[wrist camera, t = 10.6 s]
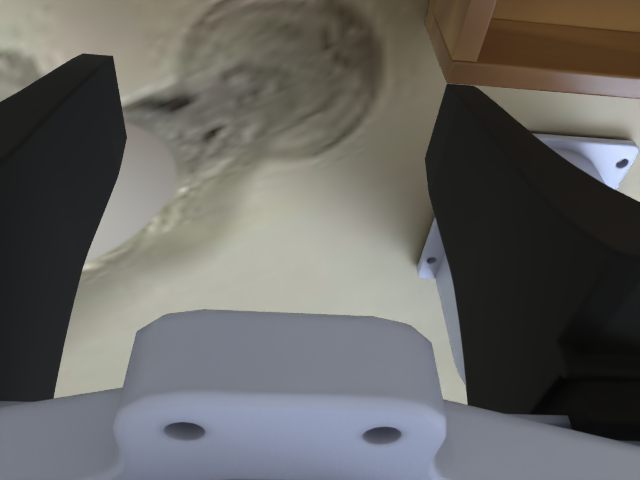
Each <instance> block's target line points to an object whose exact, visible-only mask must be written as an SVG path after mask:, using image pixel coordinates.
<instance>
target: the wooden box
mask: <svg viewBox="0 0 640 480" xmlns="http://www.w3.org/2000/svg"><path fill="white" fill-rule="evenodd" d="M425 26H426V29H427V31H428V34H429V37H430V40H431V42H432V45H433V48H434V51H435V54H436V56H437V59H438V62H439V65H440V67H441V70H442V73H443V76H444V78H445V81H446V82H447V83H455V84H467V85H479V86H491V87H504V88H516V89H528V90H540V91H552V92H564V93H576V94H588V95H600V96H612V97H624V98H636V99H640V0H430V4H429V8H428V12H427V16H426V20H425Z"/></svg>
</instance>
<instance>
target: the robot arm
mask: <svg viewBox="0 0 640 480" xmlns="http://www.w3.org/2000/svg"><path fill="white" fill-rule="evenodd" d="M126 139H127V136H126V130H125V124H124V118H123V112H122V106H121V100H120V95H119V89H118V83H117V77H116V71H115V65H114V59H113V56H106V55H94V54H81V55H79V56H77V57H75V58H73V59H71V60H70V61H68V62H66V63H65V64H63V65H61V66H60V67H58V68H56V69H55V70H53V71H52V72H50V73H48V74H47V75H45V76H44V77H42V78H40V79H39V80H37V81H35V82H34V83H32V84H31V85H29V86H27V87H26V88H24V89H22V90H21V91H19V92H17V93H16V94H14V95H12V96H10V97H8V98H7V99H5V100H3V101H1V102H0V480H640V202H638V201H636V200H634V199H632V198H630V197H628V196H626V195H624V194H622V193H620V192H618V191H617V190H616V189H617V187H618V186H619V184H620V182H621V181H622V179H623V178H624V176H625V175H626V173H627V171H628V170H629V168H630V167H631V165H632V164H633V162H634V160H635V159H636V157H637V156H638V154H639V147H638V146H637V145H636V143H635V142H633V141H627V140H614V139H600V138H587V137H574V136H561V135H547V134H534V133H531V132H529V131H528V130H527V129H526V128H525V127H523V126H522V125H521V124H520V123H519V122H517V121H516V120H515V119H514V118H513V117H512V116H510V115H509V114H508V113H507V112H506V111H505V110H503V109H502V108H501V107H500V106H499V105H498V104H497V103H495V102H494V101H493V100H492V99H491V98H489V97H488V96H487V95H486V94H484V93H483V92H482V91H481V90H479V89H478V88H476V87H475V86H468V85H456V84H447V86H446V89H445V93H444V96H443V99H442V103H441V106H440V109H439V113H438V116H437V119H436V123H435V126H434V129H433V133H432V136H431V140H430V143H429V146H428V150H427V153H426V156H425V164H426V174H427V182H428V190H429V196H430V200H431V204H432V207H433V211H434V215H435V217H434V220H433V223H432V226H431V229H430V232H429V235H428V238H427V241H426V243H425V246H424V249H423V252H422V255H421V258H420V261H419V264H418V267H417V273H418V275H419V277H421V278H426V279H436V283H437V287H438V292H439V296H440V300H441V305H442V309H443V314H444V318H445V323H446V327H447V331H448V336H449V340H450V345H451V349H452V354H453V358H454V362H455V366H456V368H457V371H458V373H459V375H460V377H461V379H462V381H463V382H464V384H465V385H466V390H467V401H468V405H465V404H461V403H457V402H452V401H448V400H444V399H443V398H442V393H441V388H440V383H439V378H438V373H437V368H436V363H435V358H434V353H433V348H432V343H431V342H430V341H429V340H428V339H427V338H425V337H424V336H423V335H422V334H420V333H419V332H418V331H417V330H416V329H414V328H413V327H412V326H411V325H408V324H406V323H402V322H397V321H392V320H388V319H383V318H378V317H374V316H351V315H327V314H304V313H280V312H256V311H232V310H208V309H203V310H194V311H186V312H178V313H170V314H166V315H163V316H162V317H160V318H158V319H157V320H155V321H153V322H152V323H150V324H148V325H147V326H145V327H143V328H142V329H140V330H138V331H137V333H136V336H135V340H134V344H133V348H132V352H131V356H130V360H129V364H128V368H127V372H126V376H125V381H124V385H123V388H116V389H110V390H104V391H98V392H92V393H85V394H79V395H73V396H67V397H61V398H54V392H55V387H56V382H57V377H58V372H59V367H60V362H61V357H62V352H63V347H64V342H65V338H66V334H67V329H68V325H69V321H70V316H71V312H72V308H73V303H74V300H75V296H76V292H77V288H78V284H79V280H80V276H81V273H82V269H83V266H84V263H85V260H86V257H87V254H88V251H89V248H90V246H91V243H92V241H93V238H94V236H95V233H96V231H97V228H98V226H99V223H100V221H101V218H102V216H103V213H104V211H105V208H106V206H107V203H108V201H109V198H110V196H111V193H112V191H113V188H114V185H115V183H116V180H117V178H118V174H119V171H120V166H121V162H122V158H123V153H124V148H125V144H126ZM622 159H624V160H623V161H621V162H619V163H617V162H618V161H620V160H622ZM430 257H433V258H430ZM53 398H54V399H53Z"/></svg>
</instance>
